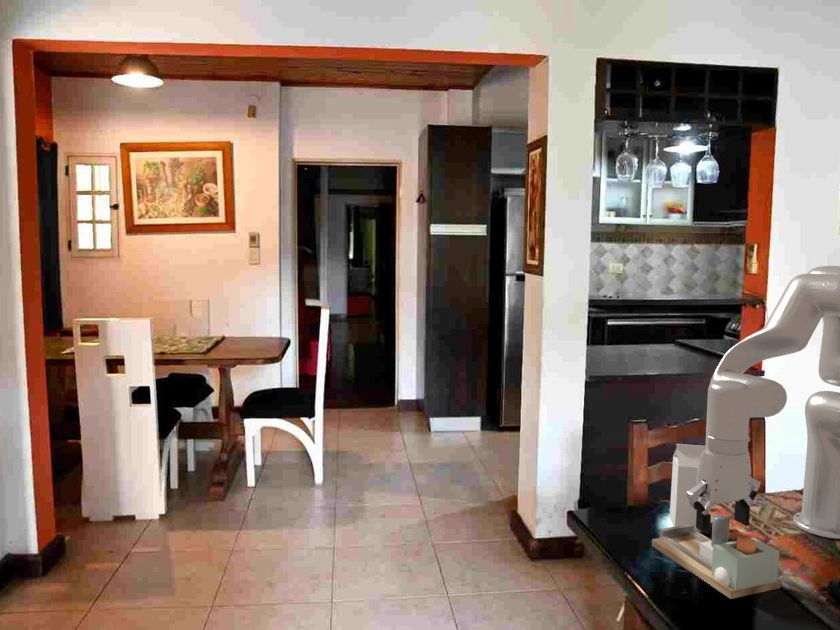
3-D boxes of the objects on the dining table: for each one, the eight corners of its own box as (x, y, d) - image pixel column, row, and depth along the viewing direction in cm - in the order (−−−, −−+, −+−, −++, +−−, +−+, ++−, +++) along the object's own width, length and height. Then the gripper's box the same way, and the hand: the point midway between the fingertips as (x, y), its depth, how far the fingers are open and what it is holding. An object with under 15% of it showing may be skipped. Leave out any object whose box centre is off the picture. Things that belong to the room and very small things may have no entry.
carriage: (718, 553, 136) (721, 511, 135) (737, 564, 131) (741, 521, 130) (699, 556, 134) (701, 514, 133) (717, 568, 129) (720, 524, 128)
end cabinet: (751, 573, 131) (753, 537, 130) (776, 588, 126) (779, 551, 125) (709, 582, 128) (711, 545, 127) (733, 598, 122) (736, 559, 121)
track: (696, 537, 146) (697, 522, 146) (780, 588, 126) (781, 570, 125) (651, 545, 142) (652, 530, 142) (730, 598, 122) (731, 581, 121)
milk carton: (708, 533, 149) (713, 451, 147) (674, 530, 150) (679, 448, 148) (701, 519, 156) (706, 441, 154) (669, 517, 157) (674, 439, 155)
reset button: (745, 550, 128) (746, 535, 128) (758, 558, 125) (760, 543, 125) (732, 553, 127) (733, 538, 127) (745, 560, 124) (746, 545, 124)
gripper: (745, 433, 136) (741, 512, 139) (677, 443, 131) (673, 526, 133) (776, 444, 129) (771, 527, 132) (705, 456, 123) (701, 542, 126)
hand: (722, 526), depth 132 cm, fingers open, 9 cm apart
